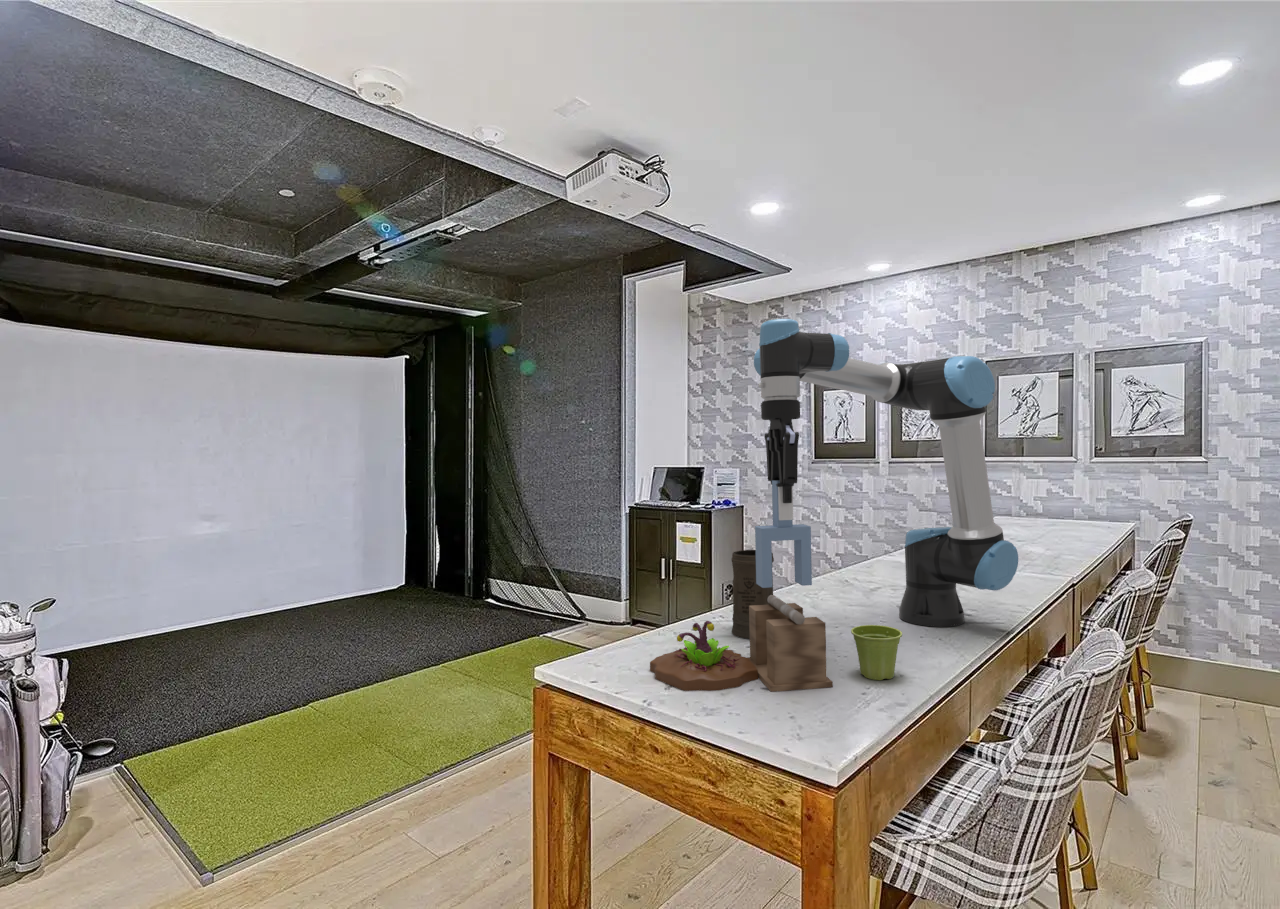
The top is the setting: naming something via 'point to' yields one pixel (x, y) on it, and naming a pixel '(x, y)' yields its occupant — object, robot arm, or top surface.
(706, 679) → the plant
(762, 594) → the beer stein
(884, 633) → the plant pot
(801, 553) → the light blue forked piece
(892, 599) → the top surface
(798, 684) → the stand
